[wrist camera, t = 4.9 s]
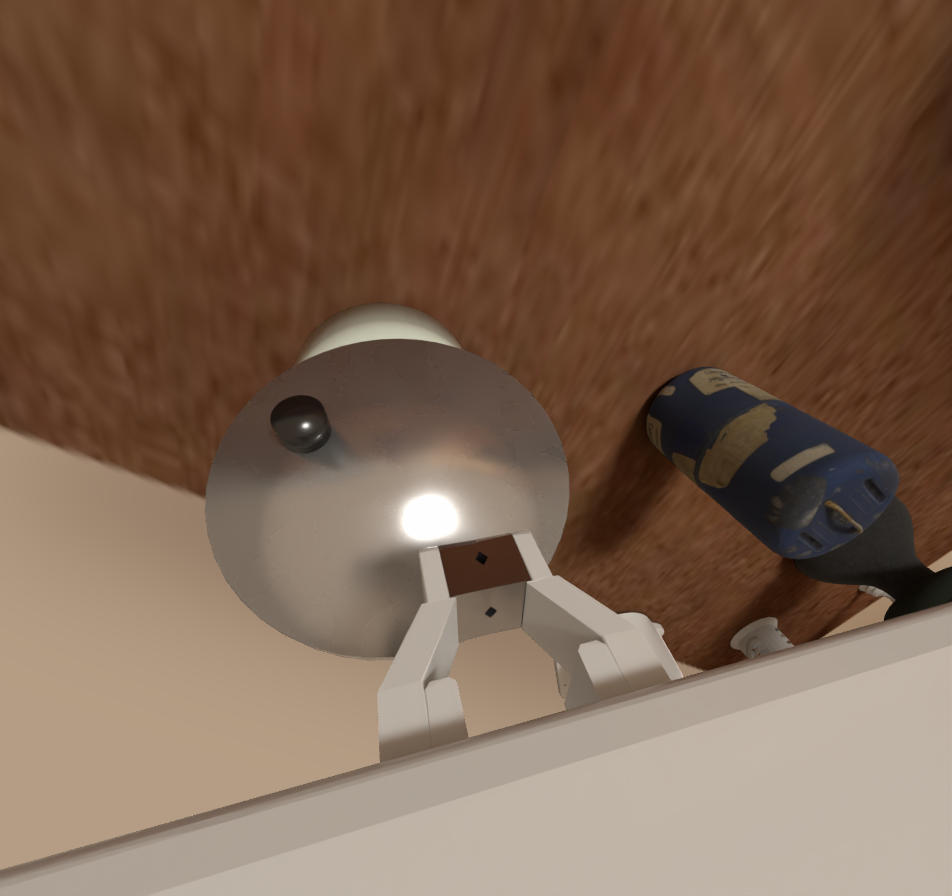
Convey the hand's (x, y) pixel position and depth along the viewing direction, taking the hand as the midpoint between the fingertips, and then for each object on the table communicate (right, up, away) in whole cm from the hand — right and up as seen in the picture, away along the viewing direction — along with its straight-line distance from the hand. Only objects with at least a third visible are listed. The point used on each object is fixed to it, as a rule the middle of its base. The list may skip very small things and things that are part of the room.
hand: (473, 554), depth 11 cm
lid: (-3, +2, +6) cm, 7 cm away
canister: (+21, +7, +31) cm, 38 cm away
